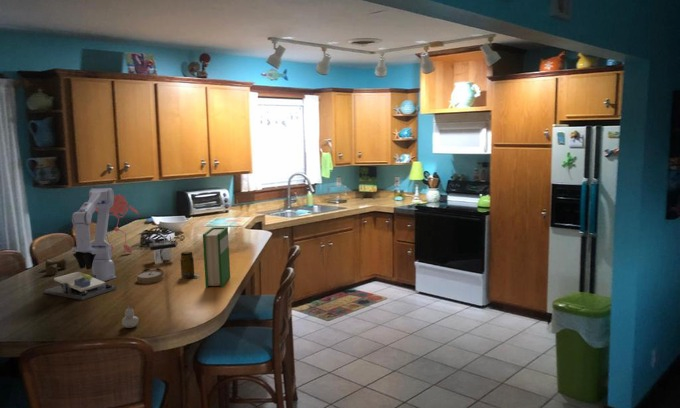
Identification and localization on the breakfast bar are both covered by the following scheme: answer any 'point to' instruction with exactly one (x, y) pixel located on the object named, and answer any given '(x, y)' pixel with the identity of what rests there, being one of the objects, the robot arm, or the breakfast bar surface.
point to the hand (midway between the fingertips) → (85, 268)
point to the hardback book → (216, 256)
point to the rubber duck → (129, 318)
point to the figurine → (119, 207)
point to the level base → (73, 293)
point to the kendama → (55, 266)
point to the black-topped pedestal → (162, 250)
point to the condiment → (187, 266)
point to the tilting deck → (77, 276)
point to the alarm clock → (150, 276)
